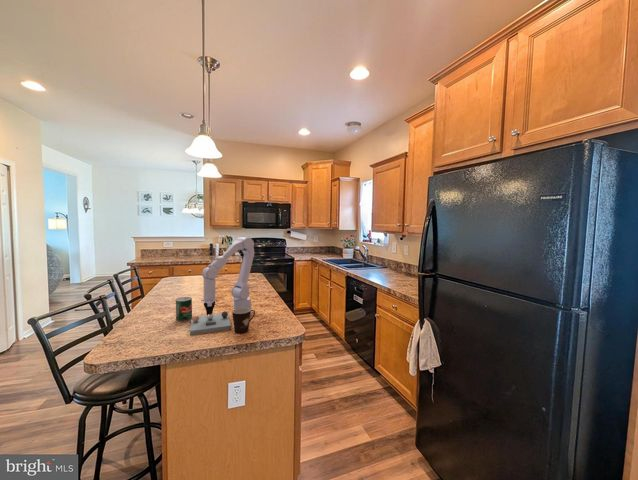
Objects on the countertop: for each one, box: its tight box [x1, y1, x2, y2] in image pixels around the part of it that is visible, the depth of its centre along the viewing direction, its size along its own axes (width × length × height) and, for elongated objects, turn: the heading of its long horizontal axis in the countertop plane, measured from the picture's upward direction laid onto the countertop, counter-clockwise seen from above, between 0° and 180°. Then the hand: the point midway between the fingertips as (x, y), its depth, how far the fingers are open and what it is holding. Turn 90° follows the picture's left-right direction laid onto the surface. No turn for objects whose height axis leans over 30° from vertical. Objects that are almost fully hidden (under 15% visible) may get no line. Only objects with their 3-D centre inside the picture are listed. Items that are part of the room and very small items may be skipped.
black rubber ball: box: [221, 311, 229, 318], centre depth 142 cm, size 3×3×3 cm
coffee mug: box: [231, 308, 256, 335], centre depth 129 cm, size 12×9×10 cm
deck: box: [189, 313, 232, 336], centre depth 136 cm, size 18×20×2 cm
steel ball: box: [206, 313, 214, 320], centre depth 138 cm, size 3×3×3 cm
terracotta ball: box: [191, 314, 199, 322], centre depth 135 cm, size 3×3×3 cm
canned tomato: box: [175, 296, 193, 322], centre depth 145 cm, size 8×8×11 cm
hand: (209, 316), depth 139 cm, fingers closed, pressing on steel ball
